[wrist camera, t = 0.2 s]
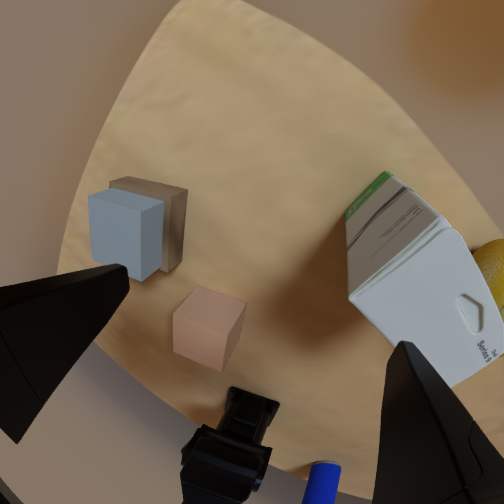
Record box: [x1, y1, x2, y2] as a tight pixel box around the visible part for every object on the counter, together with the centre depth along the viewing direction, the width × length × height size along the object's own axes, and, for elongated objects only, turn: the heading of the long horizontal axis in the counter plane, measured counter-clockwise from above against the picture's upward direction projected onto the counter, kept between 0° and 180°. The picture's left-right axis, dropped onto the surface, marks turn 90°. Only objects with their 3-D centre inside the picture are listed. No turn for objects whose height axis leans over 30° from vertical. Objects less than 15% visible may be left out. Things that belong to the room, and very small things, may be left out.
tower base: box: [109, 176, 188, 273], centre depth 24 cm, size 7×7×3 cm
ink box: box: [345, 171, 504, 388], centre depth 14 cm, size 9×5×12 cm, turn 50°
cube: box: [173, 285, 247, 372], centre depth 25 cm, size 5×5×5 cm
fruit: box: [472, 239, 504, 357], centre depth 14 cm, size 9×8×8 cm
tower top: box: [88, 188, 164, 282], centre depth 22 cm, size 6×6×3 cm
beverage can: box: [302, 461, 341, 504], centre depth 29 cm, size 5×5×15 cm
